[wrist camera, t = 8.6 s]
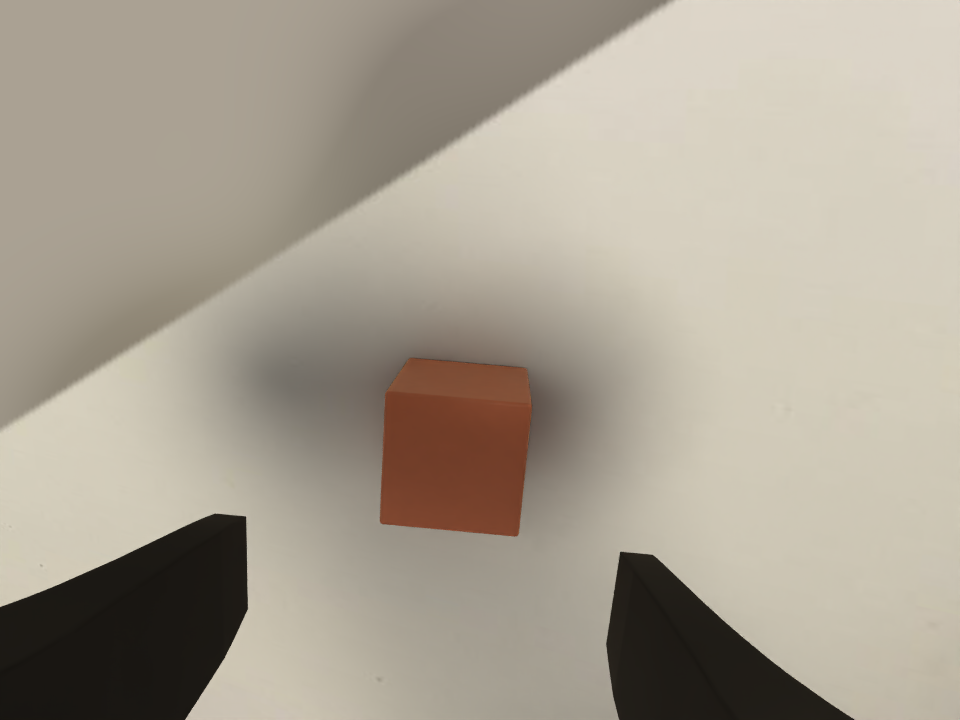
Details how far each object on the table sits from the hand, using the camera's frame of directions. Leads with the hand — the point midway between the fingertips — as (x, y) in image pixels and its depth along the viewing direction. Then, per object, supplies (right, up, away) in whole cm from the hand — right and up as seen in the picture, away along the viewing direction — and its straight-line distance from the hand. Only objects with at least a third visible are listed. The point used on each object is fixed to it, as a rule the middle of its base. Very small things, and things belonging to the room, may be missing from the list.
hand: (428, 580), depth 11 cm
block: (0, +2, +9) cm, 9 cm away
